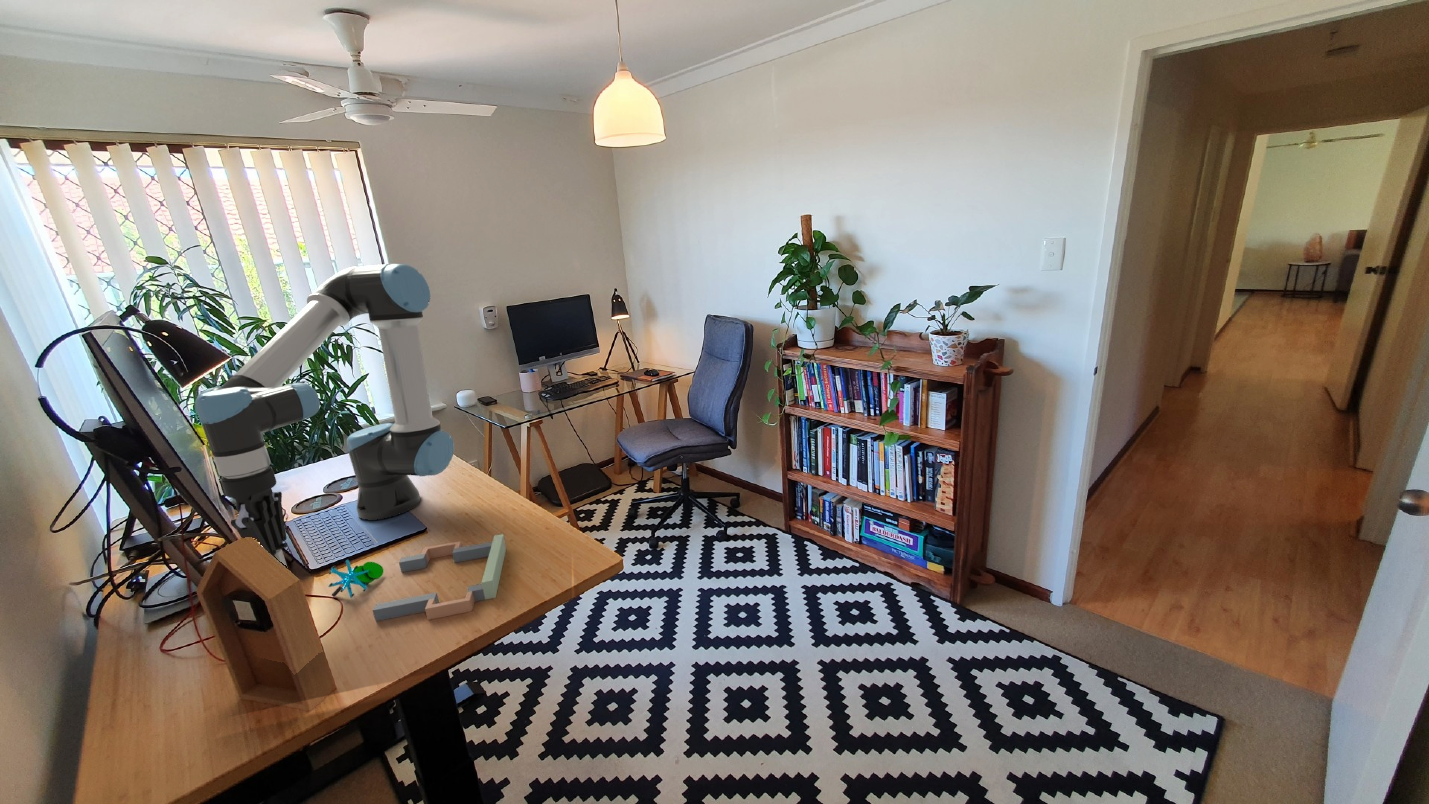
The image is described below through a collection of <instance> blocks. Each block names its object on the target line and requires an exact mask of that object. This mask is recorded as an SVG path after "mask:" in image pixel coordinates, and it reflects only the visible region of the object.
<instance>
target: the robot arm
mask: <svg viewBox="0 0 1429 804" xmlns="http://www.w3.org/2000/svg"><path fill="white" fill-rule="evenodd" d="M430 301H431V290H430V287H429V285H428V281H427V280H426V279H425V277H424V276H423V274H422V273H421V272H419V271H418V269H416V268H415V267H414V266H411V265H409V264H404V263H386V264H385V263H384V264H374V265H373V264H372V265H358V266H357V265H355V266H351V267H348V268H345V269H343V270H341V271H339V272H337V273H335V274H334V275H331V277H329V278H328V279H327V280H325V281H324V282H323V283H321V284H320V285H319V286H318V287H317V288H316V289H314V291H312V293H310V294H309V295H308V297H307V298H306V302H307V303H306V305H305V307H303V308H302V309H301V310H300V311H299V312H298V313H297V314H296V315H295V316H294V317H293V318H292V319H291V320H290V321H289V322H287V323H286V324H285V325H284V327H282V329H280V330H279V331H278V332H277V333H276V334H275V335H274V336H273V337H272V338H271V339H270V340H269V341H268V342H267V343H265V345H264V346H263V347H262V348H260V349H259V350H258V351H257V352H256V353H255V354H254V355H253V356H252V357H251V358H250V359H249V360H248V361H247V362H246V363H244V365H242V366H241V367H240V369H239V370H238V371H236V373H234V374H233V375H232V377H230V378H229V379H228V380H227V381H225V383H224V384H223V385H221V386H214V387H211V388H210V387H209V388H207V389H204V390H203V391H201V392H199V394H198V395H197V397H196V399H195V402H194V409H195V412H196V414H197V415H198V419H199V420H198V421H199V422H200V423H201V426H202V429H203V432H204V435H205V437H206V441H207V444H208V446H209V449H210V451H211V455H212V456H213V459H212V460H213V462H214V464H215V467H216V471H217V473H218V475H219V476H220V477H221V479H220V483H221V486H222V488H223V492H224V495H225V496H226V497H227V498H230V499H234V500H235V503H236V507H235V508H236V511H237V512H238V515H237V518H233V519H230V525H231V527H233V529H235V530H236V531H237V532H238V534H239V536H240V538H241V539H242V538H245V537H253V538H255V539H257V541H258V542H260V545H262V546H263V547H264V548H265V549H266V550H267V551H268V552H269V553H271V554H272V555H273V556H275V557H276V558H277V559H278V560H279V561H280V562H282V563H283V564H284V565H286V566H287V561H286V559H285V556H284V552H283V550H282V549H285V548H287V547H288V542H285V541H287V537H288V536H287V532H286V525H285V519H284V512H283V505H282V497H283V496H282V495H283V494H282V491H273V488H274V487H275V486H276V485H277V479H276V476H275V472H274V469H273V467H272V466H270V465H271V463H272V462H271V459H270V455H269V452H268V450H267V446H266V441H265V438H264V433H267V432H271V431H273V430H276V429H279V428H281V427H282V428H283V427H285V426H288V425H292V424H294V423H295V424H296V423H298V422H303V421H305V420H306V419H309V418H311V417H313V416H315V415H316V414H318V412H319V410H320V407H321V403H320V402H321V401H320V399H319V395H318V393H317V391H316V390H315V389H314V388H313V387H312V386H311V385H309V384H308V383H305V382H295V383H286V381H288V380H289V379H290V378H291V376H292V375H293V374H294V373H295V372H296V371H297V370H298V369H299V368H300V367H301V366H302V365H303V364H304V363H305V362H306V360H308V358H309V357H311V355H313V353H315V351H316V350H317V349H318V348H319V347H320V346H321V345H322V344H323V343H324V342H325V340H327V339H328V337H329V336H331V334H333V332H335V331H336V329H337V328H338V327H339V326H340V327H343V326H346V325H347V324H348V323H349V322H350V321H351V320H352V319H354V318H356V317H358V316H361V315H366V314H368V317H369V322H370V323H371V324H373V325H374V326H375V327H377V328H378V332H379V340H380V344H381V349H382V355H383V360H384V361H383V362H384V366H385V372H386V377H387V383H388V387H389V393H390V399H391V405H392V411H393V415H394V416H393V417H394V423H393V422H385V423H380V424H376V425H373V426H369V427H365V428H362V429H360V430H357V431H354V432H353V433H351V434H349V436H348V437H347V439H346V445H347V452H348V456H349V459H350V462H351V466H352V469H353V473H354V475H355V479H356V482H357V486H358V491H357V501H356V512H357V516H358V517H359V518H360V519H361V518H362V520H365V519H368V520H367V521H377V519H378V520H383V519H384V518H385V519H387V518H388V517H389V518H391V517H390V516H393V517H395V516H398V514H399V513H402V514H404V513H407V512H409V511H410V510H412V509H413V508H415V507H417V506H418V505H419V504H420V502H421V495H420V491H419V490H418V488H417V487H416V486H415V484H414V483H413V481H412V480H411V478H410V477H409V476H418V477H427V476H428V477H429V476H437V475H439V474H441V473H443V472H444V471H445V470H446V469H447V468H448V466H450V464H451V461H452V460H453V458H454V453H455V443H454V439H453V437H452V436H451V435H450V433H448V432H446V431H445V430H442V426H441V422H440V420H438V419H437V418H436V417H435V416H433V412H432V411H433V410H432V406H431V405H432V404H431V398H430V393H429V392H430V391H429V388H428V387H429V386H428V380H427V376H426V367H425V363H424V357H423V350H422V343H421V338H420V333H419V332H420V331H419V324H420V322H421V321H422V320H423V319H424V316H423V311H425V310H426V309H427V308H428V306H429V305H430V304H429V303H430ZM285 383H286V384H285ZM284 384H285V385H284ZM399 515H400V514H399ZM283 542H284V543H283ZM287 567H288V566H287Z"/></svg>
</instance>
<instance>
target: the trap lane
mask: <svg viewBox="0 0 1429 804" xmlns="http://www.w3.org/2000/svg"><path fill="white" fill-rule="evenodd" d="M506 551H507V546H506V541H505V535H504V533H501V534H495V535H493V539H492V541H488V542H484V543H483V542H482V543H478V544H471V545H467V546H463V543H462V541H461V540H460V541H454V542H448V543H442V544H437V545H431V546H426V547H423V550H422V552H421V553H420V554H415V555H409V556H405V557H404V556H403V557H401V558H400V559H399V561H398V563H399V568H400V572H401V573H404V572H410V571H416V570H422V569H425V568H427V566H428V564H429V561H430V560H431V559H435V558H440V557H445V556H449V555H450V556H451V555H452V557H453V562H454V563H460V562H465V561H471V560H476V559H481V558H487V561H486V564H485V568H484V572H483V576H482V578H481V579H482V580H481V583H480V584H474V585H473V584H472V585H469V586H468V587H467V591H466V595H465V598H458V599H453V600H449V601H444V602H443V601H442V602H440V601H439V596H438V592H431V593H426V594H421V595H420V594H419V595H415V596H411V597H406V598H400V599H394V600H390V601H384V602H380V603H375V605H374V607H373V609H372V612H373V617H374V620H375V622H379V621H384V620H385V621H386V620H389V619H390V620H391V619H393V618H399V617H403V616H410V615H414V614H419V613H420V614H421V613H425V614H426V619H427V621H430V620H435V619H439V618H444V617H449V616H454V615H459V614H464V613H469V612H472V611H473V609H474V605H475V602H481V601H486V600H490V599H495V598H496V597H497V592H498V589H499V584H500V580H501V574H502V572H503V571H502V570H503V565H504V560H505V557H506Z"/></svg>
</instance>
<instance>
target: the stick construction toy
mask: <svg viewBox="0 0 1429 804" xmlns="http://www.w3.org/2000/svg"><path fill="white" fill-rule="evenodd" d="M344 564H346V568H347V572H343V571H339V570H338V569H337V568H336V565H334V564H333V566H332V567H331V568H330V569H331V570H330V571H329V572H328V575H331V574H334V575H338V577H339V578H340V579H341V580H339V581H337V582H334V583H333V582H331V583H330V584H329V585H328V588H332V587H335V586H338V587H337V588H336V589H335V590H334V591H333V592H332V594H331V597H333V598H334V597H336V596H337V595H338V594H339V593H343V592H344V590H346V589H347V592H348V595H349V598H353V597H354V596H355V593H353V590H352V587H351V584H352V585H356V586H360V587H361V588H362V589H363V590H362V591H363V592H365V591H367V589H368V587H367V586H368V585H369V584H370V583H371V584H372V583H373V582H374V580H375V581H376V580H378V579H380V578H381V577H382V576H383V574H384V568H383V566H382V565H381V564H380V563H378V562H374V561H367V562H364V564H362V565H359V566H358V565H355V566H354V567H353V569H352V567H351V563H350V560H349V559H346V560H345V561H344Z"/></svg>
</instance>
